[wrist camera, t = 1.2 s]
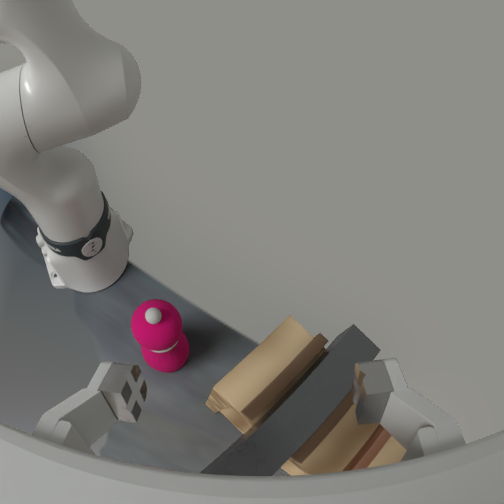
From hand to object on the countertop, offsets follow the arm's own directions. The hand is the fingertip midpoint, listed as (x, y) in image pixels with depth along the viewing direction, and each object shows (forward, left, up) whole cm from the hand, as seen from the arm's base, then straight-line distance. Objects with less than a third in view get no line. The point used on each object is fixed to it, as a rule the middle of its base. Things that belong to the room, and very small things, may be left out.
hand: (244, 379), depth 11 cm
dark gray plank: (+5, +2, -14) cm, 15 cm away
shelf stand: (+10, +5, -40) cm, 41 cm away
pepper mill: (-11, +2, -40) cm, 42 cm away
